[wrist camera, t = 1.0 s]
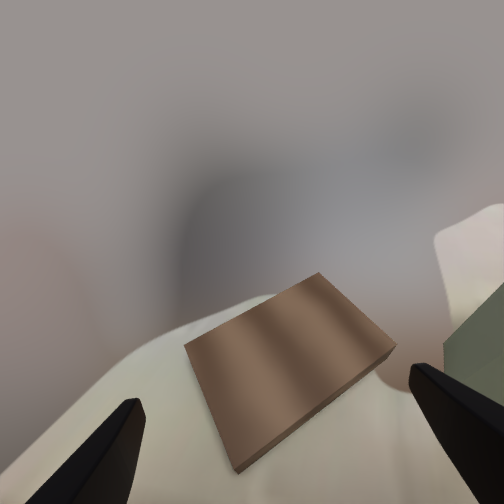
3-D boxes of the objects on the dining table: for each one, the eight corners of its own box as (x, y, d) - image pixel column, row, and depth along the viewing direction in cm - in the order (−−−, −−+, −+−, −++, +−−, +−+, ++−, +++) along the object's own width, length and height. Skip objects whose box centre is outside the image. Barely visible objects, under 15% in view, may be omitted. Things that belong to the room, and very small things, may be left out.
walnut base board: (315, 288, 30) (318, 272, 28) (386, 359, 23) (397, 344, 21) (191, 359, 25) (183, 344, 23) (238, 474, 18) (233, 469, 16)
